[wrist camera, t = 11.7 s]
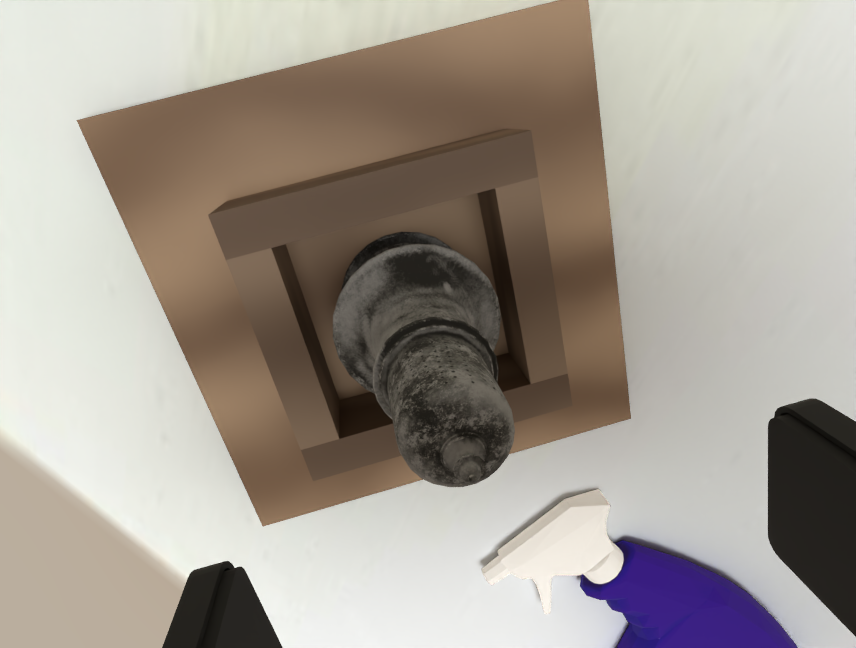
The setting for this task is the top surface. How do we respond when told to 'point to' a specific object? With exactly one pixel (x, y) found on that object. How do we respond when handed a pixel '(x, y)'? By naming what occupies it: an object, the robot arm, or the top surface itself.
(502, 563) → the spray bottle
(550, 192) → the walnut holder
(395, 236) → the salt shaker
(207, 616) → the robot arm
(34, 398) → the top surface
